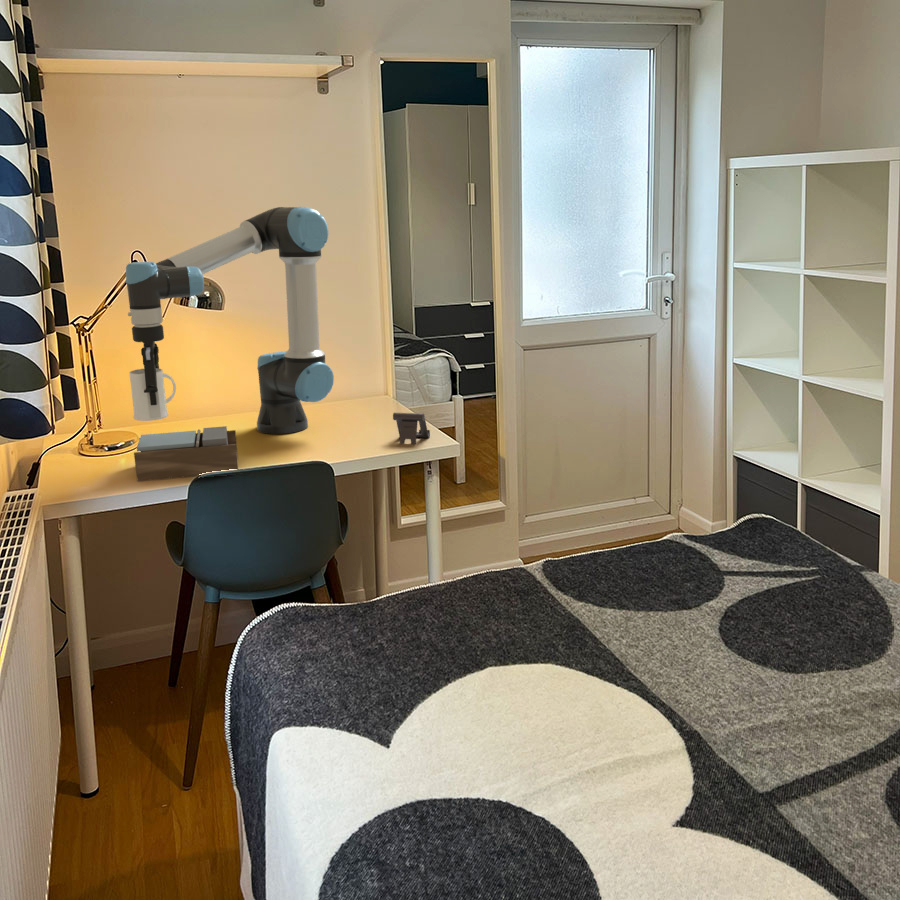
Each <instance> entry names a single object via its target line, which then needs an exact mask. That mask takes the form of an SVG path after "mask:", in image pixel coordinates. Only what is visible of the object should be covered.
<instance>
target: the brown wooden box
mask: <svg viewBox="0 0 900 900" xmlns="http://www.w3.org/2000/svg"><path fill="white" fill-rule="evenodd" d="M236 434H237V433H236V430H235V429H232V430H227V437H228V445H218V446H206V447H203V443H202V438H203V432H201V429H197V430H196V438H195V445H194V447H183V448H171V449H159V450H147V451H137V452H136V451H135V452H133V457H134V465H135V466H134V467H135V475H136V481H137V482H146V481H159V480H168V479H169V480H170V479H178V478H179V479H180V478H191V477H198V476H197V475H199V474H202V473H206V472H212V471H221V470H229V469H238V470H239V456H238V455H239V454H238V444H237V443H238V442H237V435H236ZM139 440H140V437H139V438H138V441H139Z"/></svg>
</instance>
